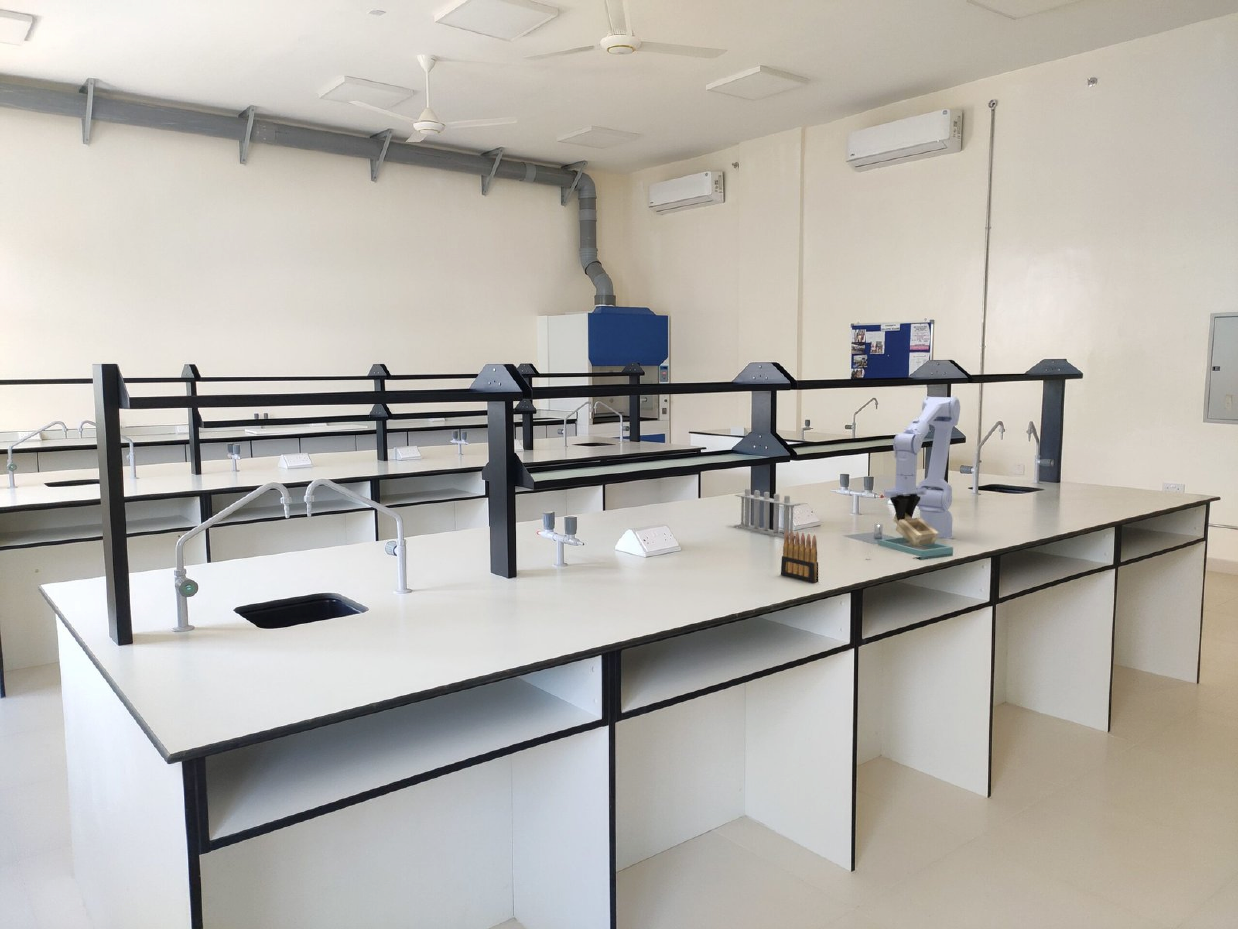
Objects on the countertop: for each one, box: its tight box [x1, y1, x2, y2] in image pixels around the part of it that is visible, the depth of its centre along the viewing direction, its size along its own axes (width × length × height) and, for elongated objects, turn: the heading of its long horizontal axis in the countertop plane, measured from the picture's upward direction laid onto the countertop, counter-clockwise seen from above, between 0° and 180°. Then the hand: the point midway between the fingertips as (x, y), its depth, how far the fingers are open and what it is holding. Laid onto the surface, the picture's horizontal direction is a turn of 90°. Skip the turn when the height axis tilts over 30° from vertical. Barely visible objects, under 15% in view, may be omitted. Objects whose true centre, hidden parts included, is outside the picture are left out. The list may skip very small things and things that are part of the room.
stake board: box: [843, 523, 897, 545], centre depth 259 cm, size 14×13×5 cm
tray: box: [877, 536, 954, 561], centre depth 244 cm, size 12×17×2 cm
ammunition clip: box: [780, 530, 819, 584], centre depth 214 cm, size 11×2×12 cm, turn 39°
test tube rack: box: [734, 488, 801, 541], centre depth 272 cm, size 25×4×13 cm, turn 35°
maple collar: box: [892, 512, 939, 546], centre depth 245 cm, size 12×8×4 cm, turn 26°
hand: (904, 520), depth 248 cm, fingers closed on maple collar, 2 cm apart
